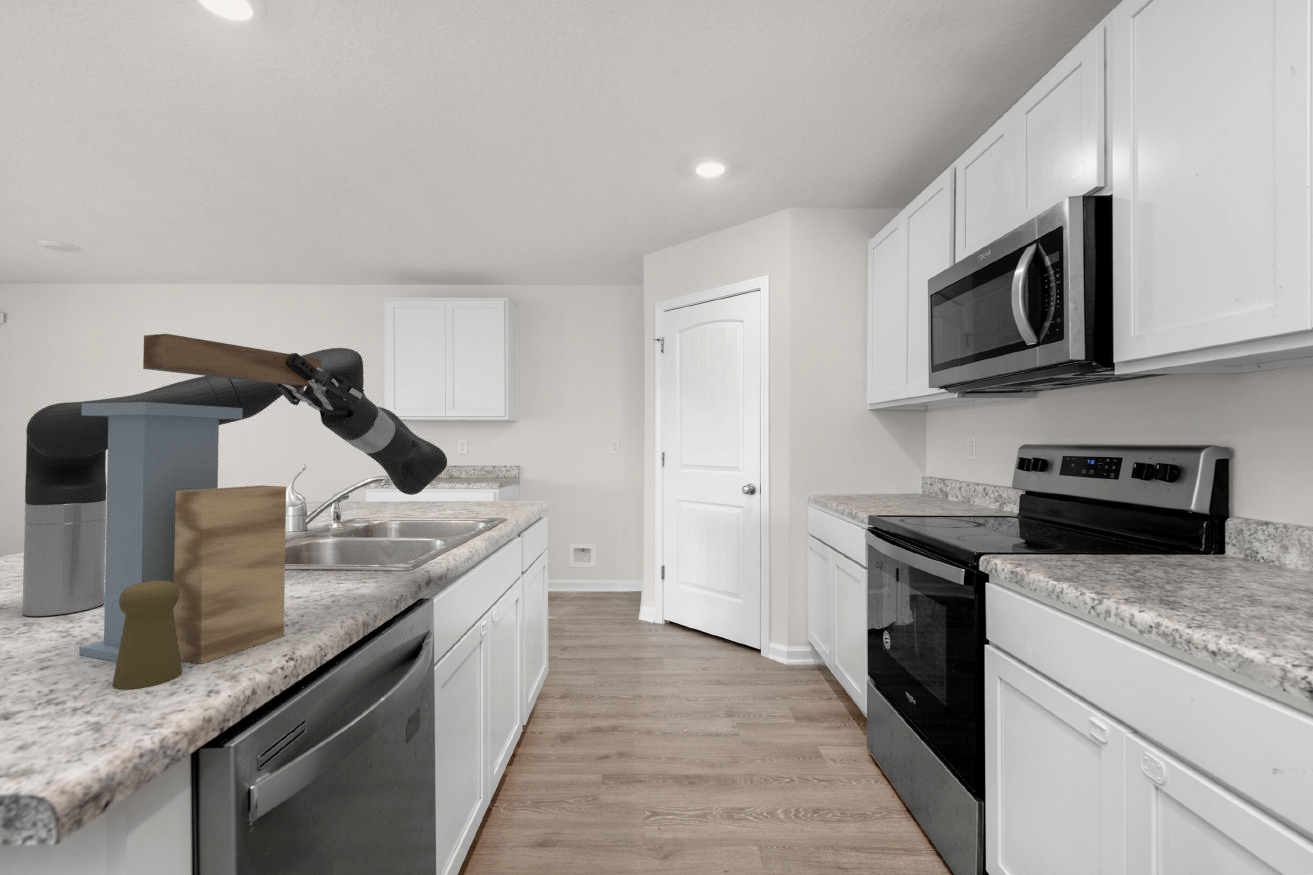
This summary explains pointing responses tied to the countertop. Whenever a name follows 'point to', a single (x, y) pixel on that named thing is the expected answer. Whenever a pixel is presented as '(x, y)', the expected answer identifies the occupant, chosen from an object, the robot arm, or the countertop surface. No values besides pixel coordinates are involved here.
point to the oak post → (229, 569)
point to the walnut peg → (219, 360)
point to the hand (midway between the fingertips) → (278, 358)
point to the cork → (148, 636)
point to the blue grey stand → (149, 493)
